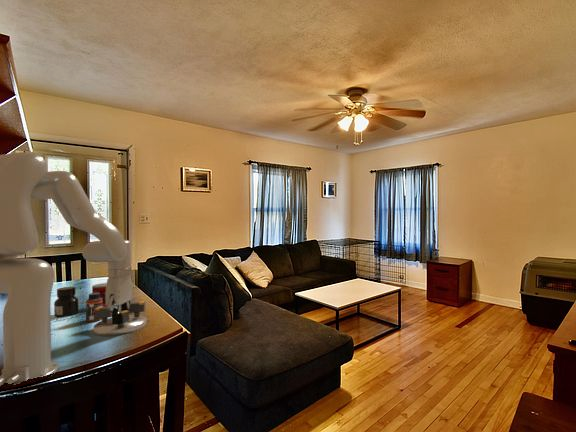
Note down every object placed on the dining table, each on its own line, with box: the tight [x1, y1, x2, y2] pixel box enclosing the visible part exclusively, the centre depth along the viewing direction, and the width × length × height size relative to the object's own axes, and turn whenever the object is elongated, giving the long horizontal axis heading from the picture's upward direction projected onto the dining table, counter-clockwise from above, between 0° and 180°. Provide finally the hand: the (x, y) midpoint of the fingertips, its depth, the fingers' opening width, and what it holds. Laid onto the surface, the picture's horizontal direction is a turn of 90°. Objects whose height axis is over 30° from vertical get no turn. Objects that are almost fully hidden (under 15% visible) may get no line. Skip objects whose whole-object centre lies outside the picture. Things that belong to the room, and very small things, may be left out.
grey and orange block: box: [129, 300, 146, 317], centre depth 120 cm, size 6×2×6 cm, turn 103°
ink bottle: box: [53, 286, 80, 318], centre depth 133 cm, size 10×9×12 cm
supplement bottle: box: [85, 292, 103, 323], centre depth 124 cm, size 6×6×11 cm
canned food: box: [91, 282, 107, 307], centre depth 144 cm, size 8×8×11 cm
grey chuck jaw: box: [118, 310, 130, 327], centre depth 109 cm, size 6×2×6 cm, turn 66°
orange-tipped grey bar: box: [95, 306, 112, 323], centre depth 115 cm, size 6×2×6 cm, turn 89°
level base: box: [93, 314, 147, 337], centre depth 114 cm, size 18×18×4 cm
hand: (120, 321), depth 109 cm, fingers closed on grey chuck jaw, 4 cm apart
